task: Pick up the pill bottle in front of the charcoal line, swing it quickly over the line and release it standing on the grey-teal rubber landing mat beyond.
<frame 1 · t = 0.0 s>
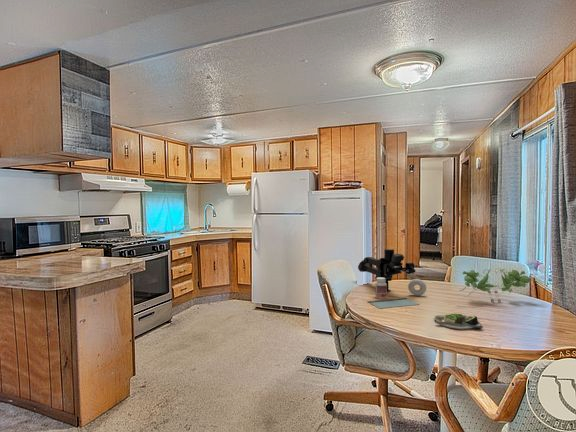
hand: (408, 271, 180), 17 cm above the table, tool horizontal, fingers open, 9 cm apart
pill bottle: (381, 297, 189), on the table
landing mat: (394, 304, 176), on the table
throw line: (387, 300, 183), on the table
donut: (417, 296, 192), on the table
salad plate: (458, 324, 145), on the table
plant cuttings: (490, 300, 180), on the table
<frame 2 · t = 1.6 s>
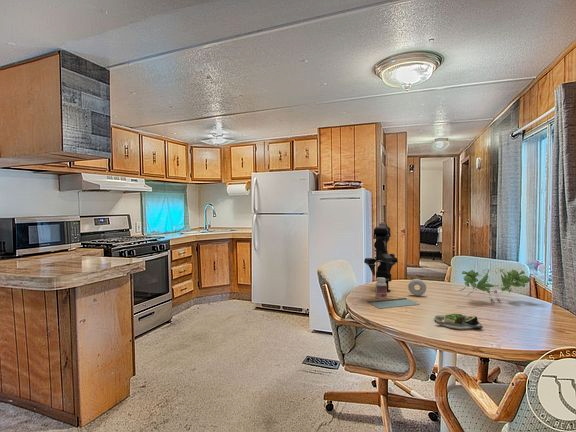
hand: (381, 275, 189), 13 cm above the table, tool pointing down, fingers open, 9 cm apart
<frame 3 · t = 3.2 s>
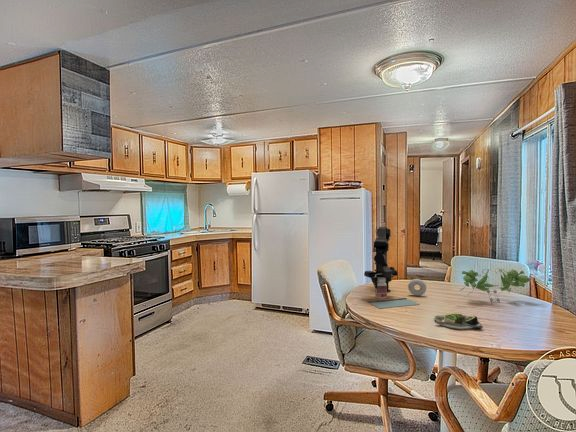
hand: (381, 288, 189), 6 cm above the table, tool pointing down, fingers closed on pill bottle, 6 cm apart
pill bottle: (381, 297, 189), on the table, touching gripper
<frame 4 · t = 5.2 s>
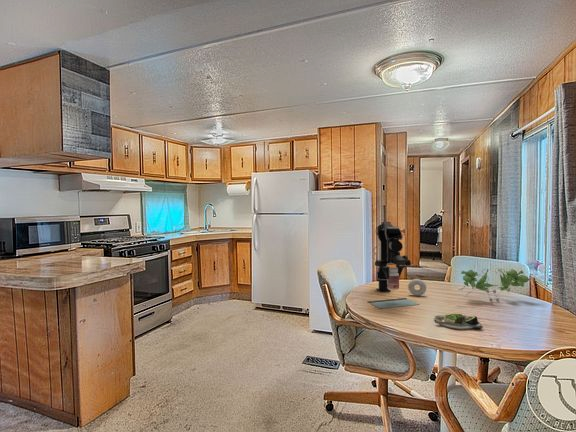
hand: (393, 278, 176), 14 cm above the table, tool pointing down, fingers closed on pill bottle, 6 cm apart
pill bottle: (393, 289, 176), point 8 cm above the table, touching gripper
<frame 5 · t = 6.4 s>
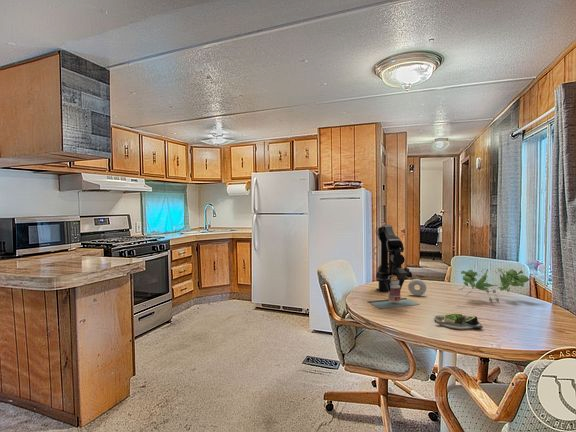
hand: (394, 290, 176), 7 cm above the table, tool pointing down, fingers closed on pill bottle, 6 cm apart
pill bottle: (394, 301, 176), point 2 cm above the table, touching gripper
when the fingers open (7 cm above the table, at t = 7.2 s): pill bottle drops 1 cm, resting on landing mat.
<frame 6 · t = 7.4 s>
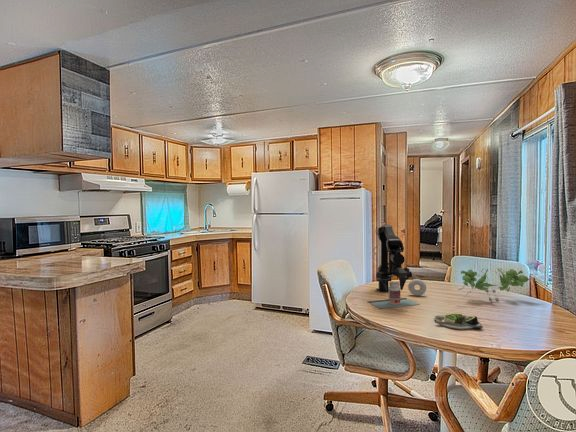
hand: (394, 290, 176), 7 cm above the table, tool pointing down, fingers open, 8 cm apart
pill bottle: (394, 303, 176), resting on landing mat
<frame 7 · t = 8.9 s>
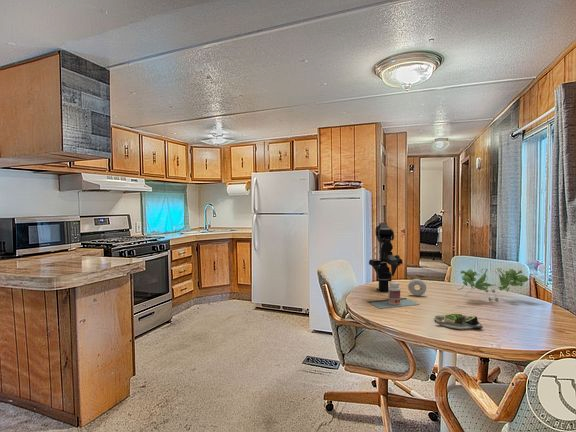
hand: (385, 276, 187), 13 cm above the table, tool pointing down, fingers open, 9 cm apart
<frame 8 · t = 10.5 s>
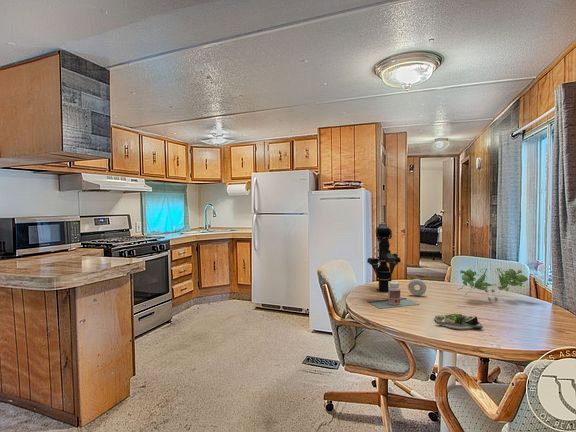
hand: (384, 275, 189), 13 cm above the table, tool pointing down, fingers open, 9 cm apart
at the end: pill bottle inside the target area (0.2 cm from its centre), resting on landing mat; pill bottle tilted 0°; the gripper is holding nothing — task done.
